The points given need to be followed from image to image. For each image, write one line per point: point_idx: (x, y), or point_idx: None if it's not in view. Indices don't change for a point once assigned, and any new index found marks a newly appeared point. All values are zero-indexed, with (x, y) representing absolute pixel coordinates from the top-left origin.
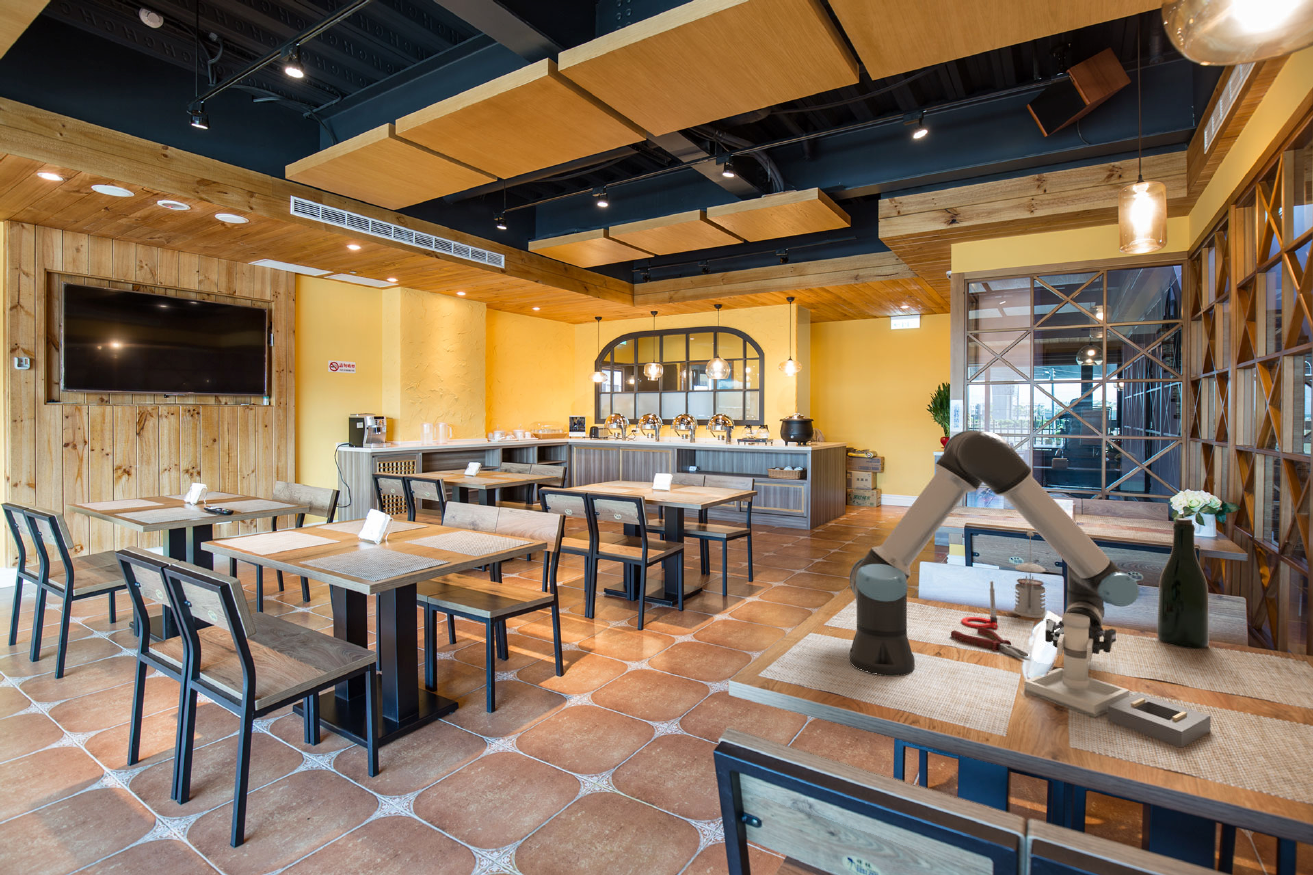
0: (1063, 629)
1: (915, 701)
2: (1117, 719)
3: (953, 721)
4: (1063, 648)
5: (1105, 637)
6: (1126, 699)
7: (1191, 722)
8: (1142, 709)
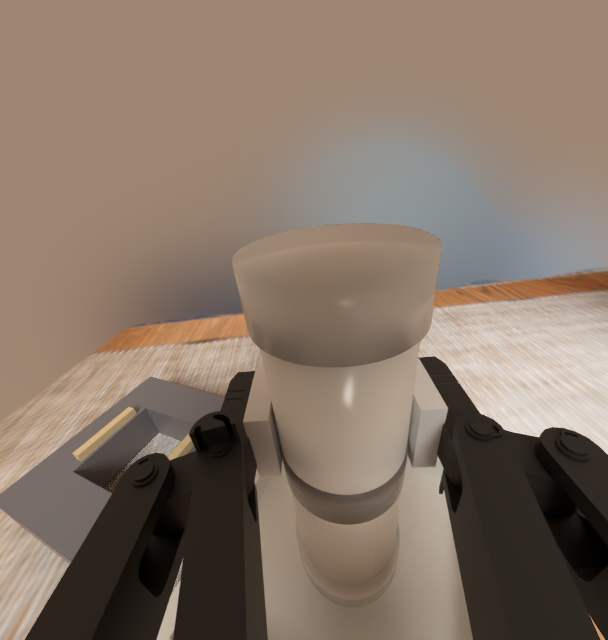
0: (547, 616)
1: (550, 320)
2: None
3: (457, 308)
4: None
5: (113, 564)
6: None
7: (97, 424)
8: None
